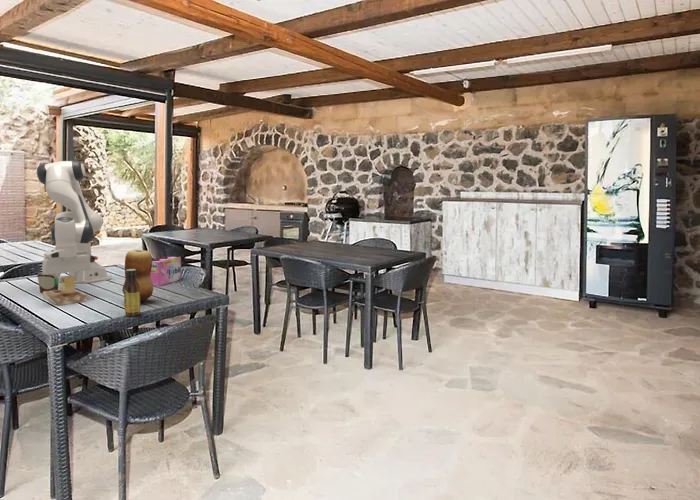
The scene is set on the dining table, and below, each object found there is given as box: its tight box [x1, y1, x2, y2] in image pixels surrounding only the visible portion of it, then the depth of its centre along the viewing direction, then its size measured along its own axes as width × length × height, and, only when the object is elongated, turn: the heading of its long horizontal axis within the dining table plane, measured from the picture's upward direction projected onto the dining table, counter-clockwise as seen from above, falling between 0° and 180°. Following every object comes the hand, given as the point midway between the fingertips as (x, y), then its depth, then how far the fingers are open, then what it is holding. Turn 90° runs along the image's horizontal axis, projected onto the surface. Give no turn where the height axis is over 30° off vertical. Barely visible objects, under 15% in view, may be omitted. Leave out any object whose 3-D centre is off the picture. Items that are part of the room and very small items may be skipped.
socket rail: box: [42, 288, 87, 306], centre depth 246 cm, size 12×21×3 cm, turn 47°
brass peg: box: [60, 275, 76, 293], centre depth 241 cm, size 4×4×7 cm
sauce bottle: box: [123, 269, 141, 317], centre depth 221 cm, size 7×6×20 cm
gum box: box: [150, 255, 183, 287], centre depth 293 cm, size 24×8×14 cm, turn 167°
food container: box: [36, 272, 61, 294], centre depth 260 cm, size 12×6×10 cm, turn 71°
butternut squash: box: [122, 249, 154, 303], centre depth 243 cm, size 14×13×25 cm
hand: (67, 281), depth 241 cm, fingers closed on brass peg, 4 cm apart
